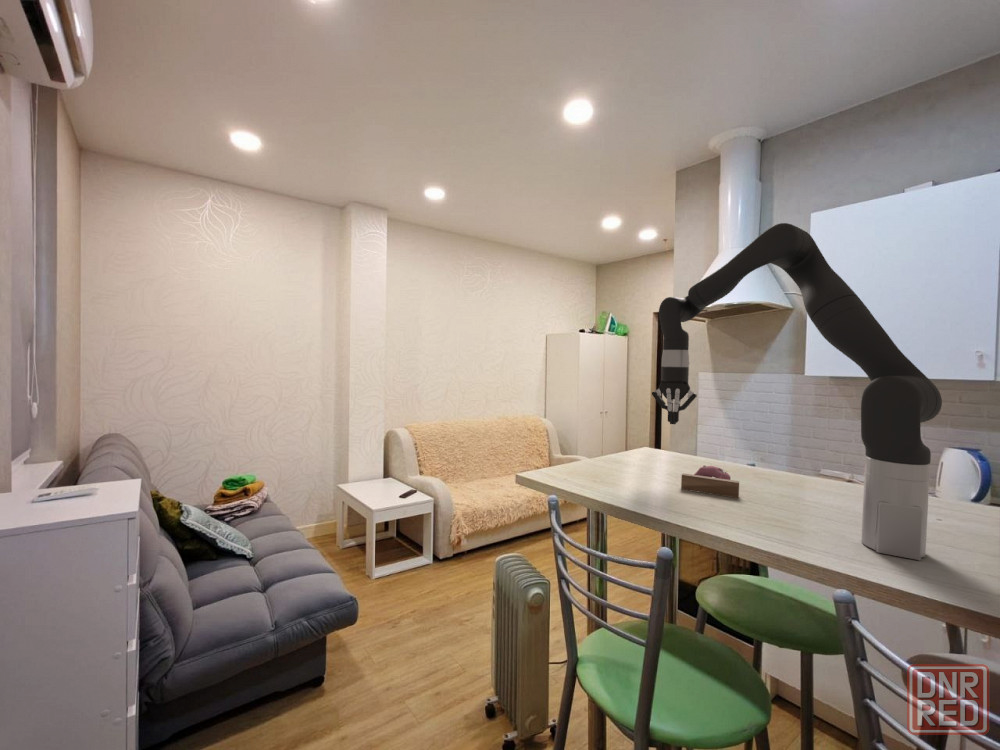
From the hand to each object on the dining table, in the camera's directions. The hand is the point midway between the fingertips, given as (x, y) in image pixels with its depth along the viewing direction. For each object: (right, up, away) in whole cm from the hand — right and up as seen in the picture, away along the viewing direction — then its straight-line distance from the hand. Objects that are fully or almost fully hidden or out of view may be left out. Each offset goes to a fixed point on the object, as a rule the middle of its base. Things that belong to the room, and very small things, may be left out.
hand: (673, 423), depth 130 cm
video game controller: (+8, -18, -5) cm, 20 cm away
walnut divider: (+5, -17, -11) cm, 21 cm away
